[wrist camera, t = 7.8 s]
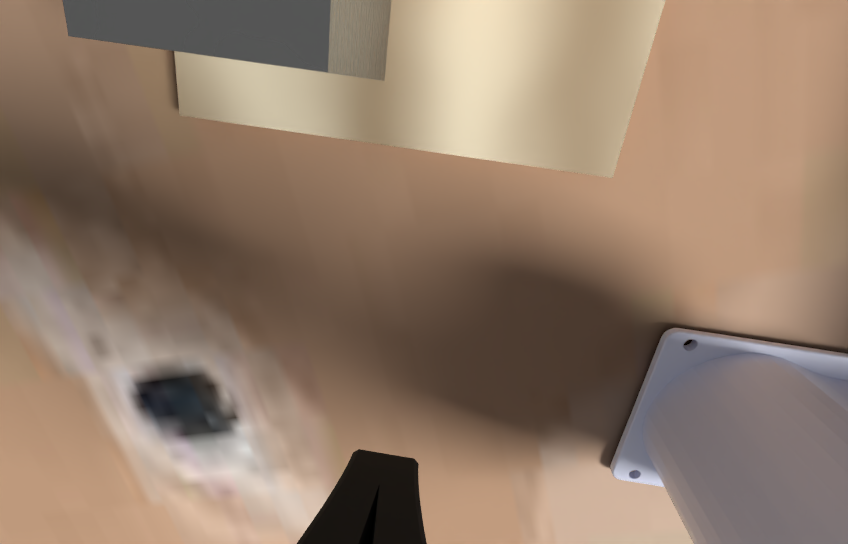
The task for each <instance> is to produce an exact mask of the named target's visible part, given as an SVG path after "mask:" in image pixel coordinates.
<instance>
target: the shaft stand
mask: <svg viewBox="0 0 848 544" xmlns="http://www.w3.org/2000/svg"><path fill="white" fill-rule="evenodd" d="M664 3H665V0H63V5H64V11H65V17H66V23H67V29H68V35H69V36H73V37H79V38H86V39H93V40H100V41H107V42H114V43H121V44H128V45H135V46H142V47H149V48H156V49H162V50H169V51H174V55H175V67H176V78H177V90H178V102H179V114H180V116H186V117H193V118H200V119H207V120H214V121H221V122H228V123H235V124H242V125H249V126H256V127H263V128H269V129H276V130H283V131H290V132H297V133H304V134H311V135H318V136H325V137H332V138H339V139H346V140H353V141H360V142H366V143H373V144H380V145H387V146H394V147H401V148H408V149H415V150H422V151H429V152H436V153H443V154H450V155H456V156H463V157H470V158H477V159H484V160H491V161H498V162H505V163H512V164H519V165H526V166H533V167H540V168H546V169H553V170H560V171H567V172H574V173H581V174H588V175H595V176H602V177H609V178H613V175H614V172H615V168H616V165H617V162H618V158H619V155H620V152H621V148H622V145H623V141H624V138H625V135H626V131H627V128H628V125H629V121H630V118H631V114H632V111H633V108H634V104H635V101H636V98H637V94H638V91H639V88H640V84H641V81H642V77H643V74H644V71H645V67H646V64H647V61H648V57H649V54H650V51H651V47H652V44H653V40H654V37H655V34H656V30H657V27H658V24H659V20H660V17H661V14H662V10H663V7H664Z"/></svg>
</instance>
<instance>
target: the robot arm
mask: <svg viewBox="0 0 848 544" xmlns="http://www.w3.org/2000/svg"><path fill="white" fill-rule="evenodd" d="M690 339H693V340H692V342H691V343H690V344H688V345H684V343H685V342H686V341H687V340H690ZM610 469H611V471H612V474H613V476H614V477H615V478H616V479H619V480H625V481H631V482H637V483H643V484H650V485H656V486H662V487H665V488H666V490H667V492H668V494H669V496H670V498H671V500H672V502H673V504H674V506H675V508H676V510H677V512H678V514H679V516H680V517H681V519H682V521H683V523H684V525H685V527H686V529H687V531H688V533H689V535H690V537H691V539H692V541H693V543H694V544H848V354H847V353H840V352H834V351H827V350H820V349H814V348H807V347H801V346H794V345H787V344H781V343H774V342H768V341H761V340H755V339H748V338H741V337H735V336H728V335H722V334H715V333H709V332H702V331H695V330H689V329H682V328H672V329H669V330H667V331H666V332H664V334H663V335H662V337H661V339H660V342H659V344H658V347H657V349H656V352H655V354H654V357H653V359H652V362H651V364H650V367H649V369H648V372H647V374H646V377H645V380H644V382H643V385H642V387H641V390H640V392H639V395H638V397H637V400H636V402H635V405H634V407H633V410H632V412H631V415H630V417H629V420H628V422H627V425H626V427H625V430H624V432H623V435H622V437H621V440H620V443H619V445H618V448H617V450H616V453H615V455H614V458H613V460H612V463H611V466H610ZM633 470H636V471H633ZM631 471H633V472H631ZM297 544H427V543H426V538H425V532H424V526H423V520H422V513H421V506H420V497H419V485H418V463H417V462H416V460H415V459H413V458H407V457H401V456H395V455H389V454H383V453H377V452H371V451H365V450H360V449H359V450H357V451H355V452H353V454H352V457H351V459H350V461H349V463H348V465H347V467H346V469H345V470H344V472H343V474H342V476H341V478H340V479H339V481H338V483H337V484H336V486H335V488H334V489H333V491H332V492H331V494H330V496H329V497H328V499H327V500H326V502H325V504H324V505H323V507H322V508H321V509H320V511H319V512H318V514H317V515H316V517H315V518H314V520H313V521H312V523H311V524H310V525H309V527H308V528H307V530H306V531H305V533H304V534H303V536H302V537H301V538H300V540H299V541H298V542H297Z"/></svg>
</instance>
